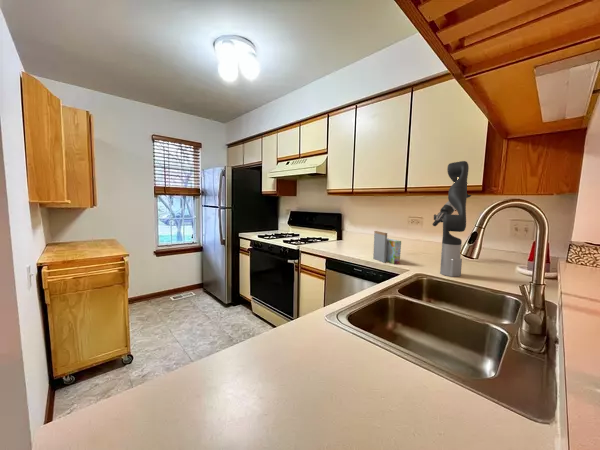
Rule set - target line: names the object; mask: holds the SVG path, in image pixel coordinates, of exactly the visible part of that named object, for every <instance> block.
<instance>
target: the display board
mask: <svg viewBox="0 0 600 450" xmlns="http://www.w3.org/2000/svg"><path fill="white" fill-rule="evenodd" d="M387 238H388V232H383V231H378V230H374V236H373V253H372V255H373V257H372V258H373V259H374V260H376V261H378V262H381V263H383V264H386V263H387V262H386V252H387Z"/></svg>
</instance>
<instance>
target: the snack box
mask: <svg viewBox="0 0 600 450" xmlns="http://www.w3.org/2000/svg"><path fill="white" fill-rule="evenodd" d="M401 249H402V240H399V239H398V240H397V239H391V238H388V237H387V252H386V263H389V264H392V265H395V264H396V265H400V264H401V263H400V262H401Z"/></svg>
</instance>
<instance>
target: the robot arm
mask: <svg viewBox="0 0 600 450" xmlns="http://www.w3.org/2000/svg"><path fill="white" fill-rule="evenodd" d="M469 169H470V168H469V163H468V161H466V160H461V161H454V162H450V163H448V165H447V169H446V170H447V171H446V172H447V174H448V177H449V178H450V180H451V181H452V182H453V183H452V185H450V187H449V188H448V192H447V193H448V196H447V200H448V201H447V202H445V204H444V205H443V206H442V207H441V208H440V209H439V210H440V211H439V212H438V213H437V214H434V215H433V220H434V221H433V222H432V223H431V224H432V227H436V226H438V225H439V224H440V223H442V241H441V254H440V255H441V256H440V271H439V273H440V274H441V275H443V276H447V277H452V278H453V277H454V278H455V277H461V276H462V265H463V258H461V257H462V256H461V255H462V253H461V254H460V251H461V252H462V245H463V244H462V239H461V238H459V237H456V236H454V235H452V234H451V233H450V232H453V233H454V232H455V233H457V232H460V233H462V232H465V231H466V228H467V207H466V206H467V199H468V198H470V197H471V196H472V195H468V194H467V184H468V176H469ZM457 177H459V179H458V180H457ZM454 182H455V183H454ZM455 211H456V212H457V214H453V213H454V212H455Z"/></svg>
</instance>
